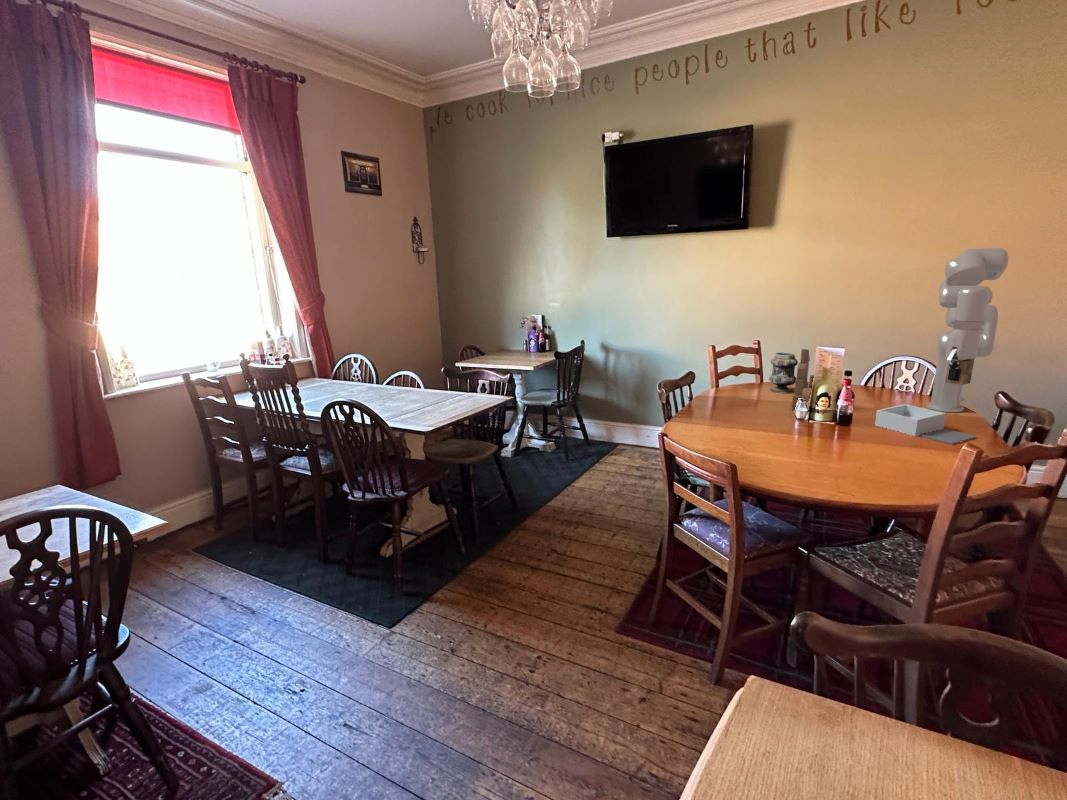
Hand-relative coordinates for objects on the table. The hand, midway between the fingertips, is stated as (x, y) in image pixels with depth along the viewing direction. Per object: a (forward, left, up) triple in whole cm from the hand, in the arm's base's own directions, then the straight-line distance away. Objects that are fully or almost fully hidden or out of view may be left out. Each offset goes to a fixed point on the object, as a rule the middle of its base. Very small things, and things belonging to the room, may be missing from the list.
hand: (958, 378), depth 184 cm
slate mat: (0, 0, -21) cm, 21 cm away
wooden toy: (+9, -52, -21) cm, 56 cm away
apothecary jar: (-6, -77, -21) cm, 80 cm away
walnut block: (0, 0, -1) cm, 1 cm away
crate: (0, -14, -21) cm, 25 cm away
